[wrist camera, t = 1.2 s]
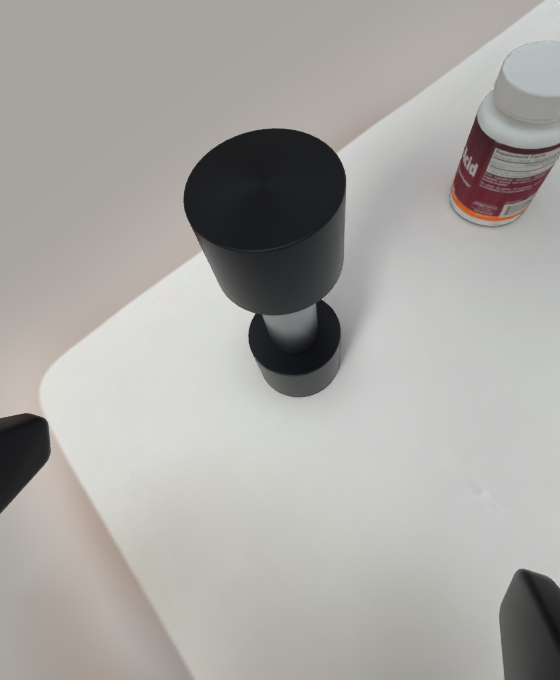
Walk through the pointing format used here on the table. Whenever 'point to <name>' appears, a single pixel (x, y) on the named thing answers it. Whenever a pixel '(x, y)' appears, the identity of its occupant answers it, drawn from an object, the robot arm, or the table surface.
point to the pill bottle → (512, 138)
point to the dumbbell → (276, 247)
